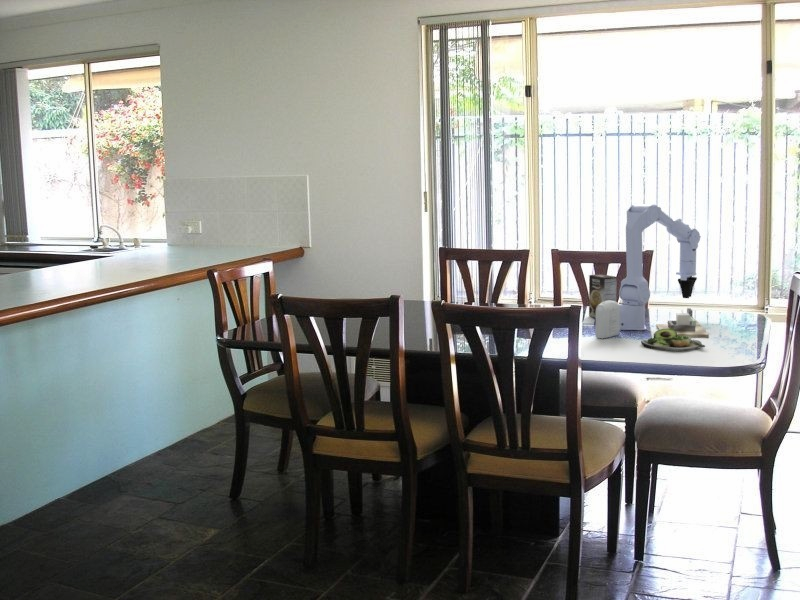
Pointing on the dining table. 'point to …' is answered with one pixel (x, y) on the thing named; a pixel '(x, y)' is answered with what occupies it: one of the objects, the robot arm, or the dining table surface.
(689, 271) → the robot arm
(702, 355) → the dining table surface
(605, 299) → the coffee box
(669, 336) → the salad plate
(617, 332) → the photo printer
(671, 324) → the beige board
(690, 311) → the gate
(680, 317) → the white cube block
